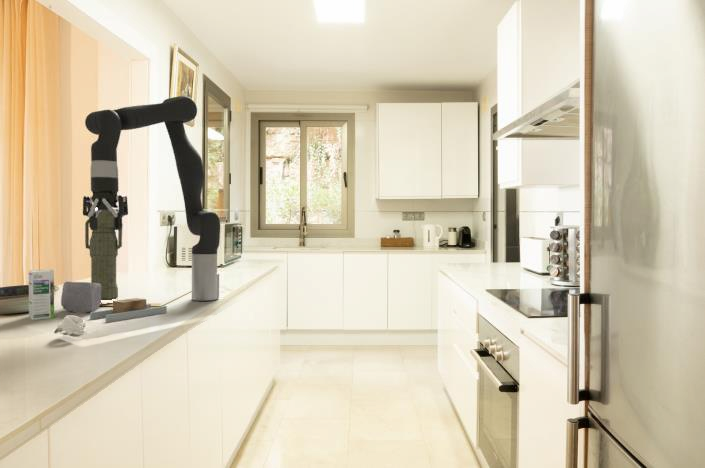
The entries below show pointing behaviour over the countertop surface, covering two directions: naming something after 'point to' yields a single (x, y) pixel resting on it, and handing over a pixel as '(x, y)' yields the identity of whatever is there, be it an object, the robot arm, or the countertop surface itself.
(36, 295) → the syrup box
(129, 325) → the countertop surface
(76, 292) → the stone block
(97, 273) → the thermos
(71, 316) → the white rolled cloth
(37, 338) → the countertop surface
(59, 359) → the countertop surface
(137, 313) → the guide channel
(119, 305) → the walnut block
